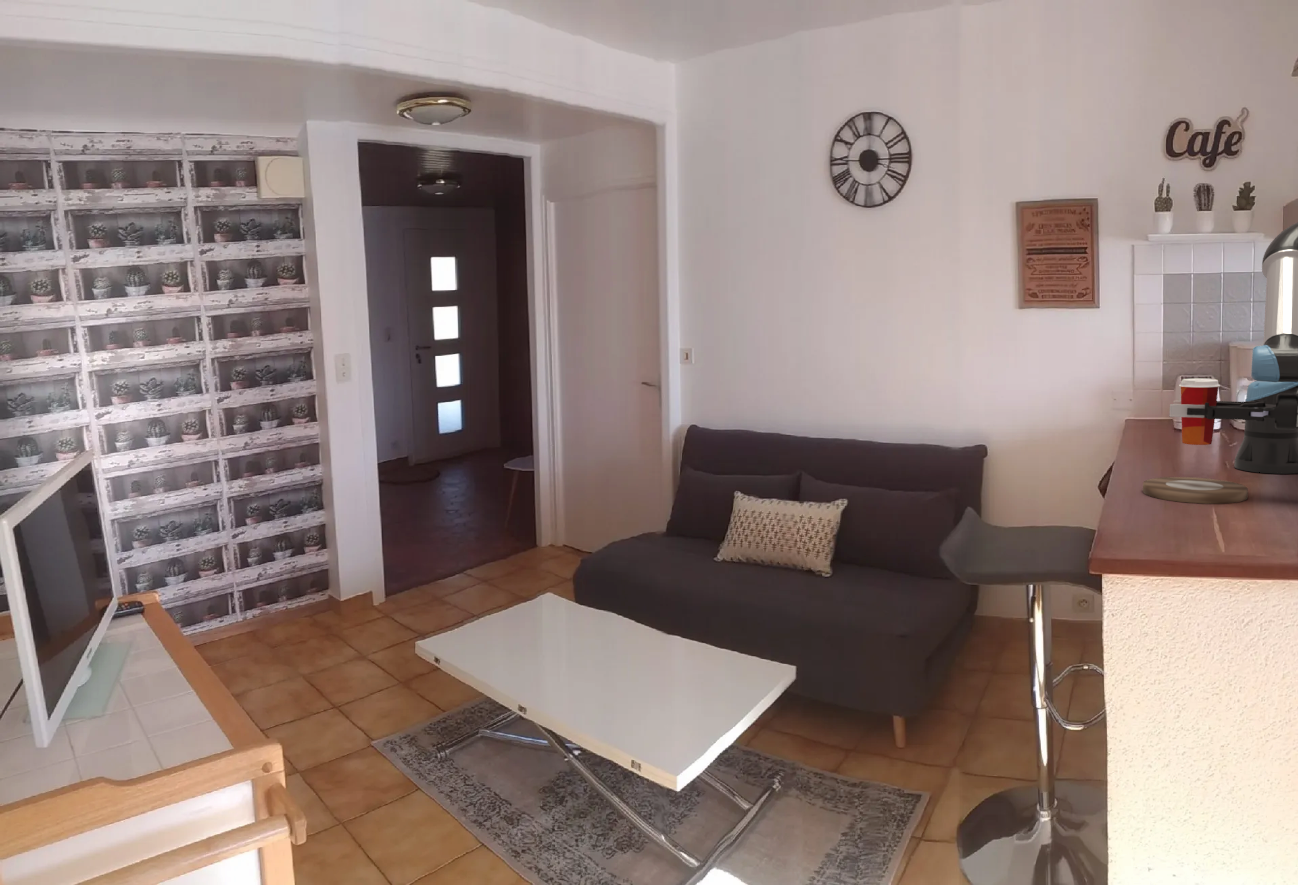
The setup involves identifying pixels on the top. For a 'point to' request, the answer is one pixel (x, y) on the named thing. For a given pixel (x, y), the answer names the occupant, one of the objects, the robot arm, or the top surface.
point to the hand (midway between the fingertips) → (1171, 408)
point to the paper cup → (1198, 394)
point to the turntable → (1195, 490)
